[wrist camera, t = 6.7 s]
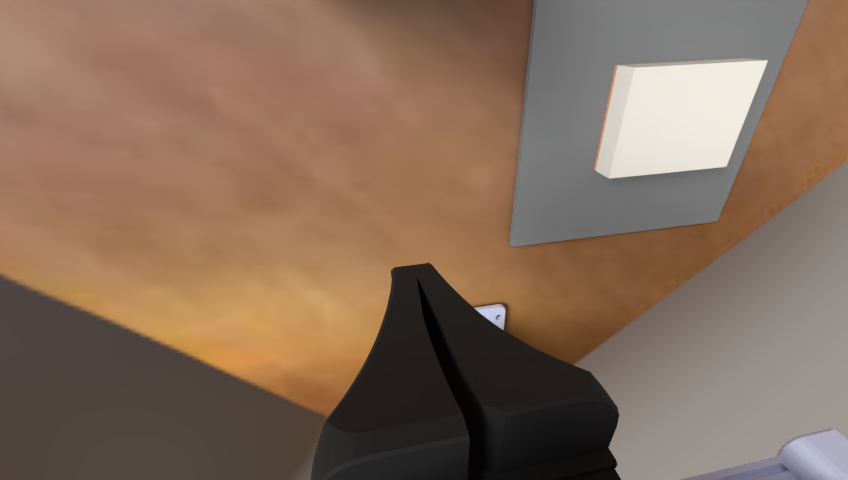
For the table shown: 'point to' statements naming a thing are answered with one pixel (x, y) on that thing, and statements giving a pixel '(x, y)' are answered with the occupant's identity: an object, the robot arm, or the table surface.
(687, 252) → the table surface
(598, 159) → the tile
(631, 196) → the mat
